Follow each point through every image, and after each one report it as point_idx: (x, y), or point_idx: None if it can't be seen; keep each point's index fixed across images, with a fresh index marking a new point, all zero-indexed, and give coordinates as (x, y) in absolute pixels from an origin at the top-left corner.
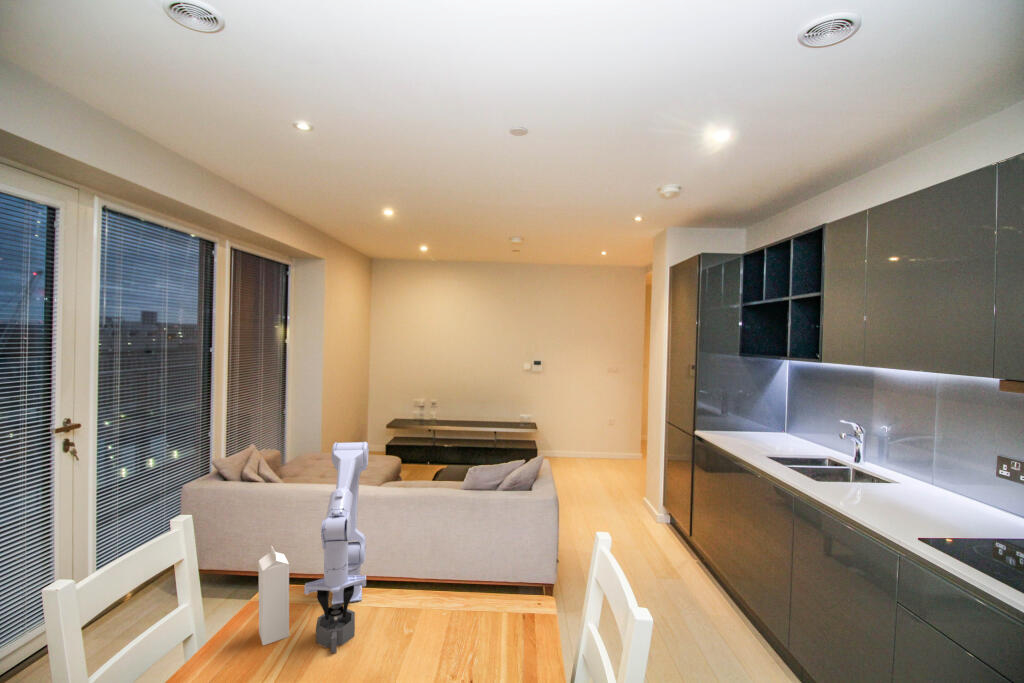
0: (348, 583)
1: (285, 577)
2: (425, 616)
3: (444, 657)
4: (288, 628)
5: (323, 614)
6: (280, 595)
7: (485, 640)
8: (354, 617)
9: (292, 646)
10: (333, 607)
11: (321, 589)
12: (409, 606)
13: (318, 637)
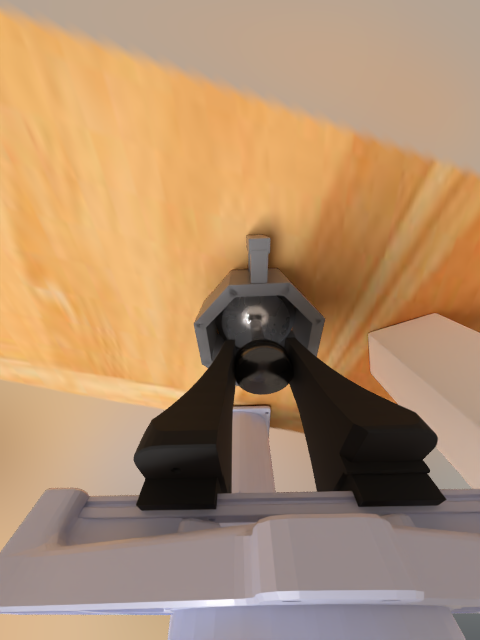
0: (140, 606)
1: None
2: (30, 339)
3: None
4: (385, 345)
5: None
6: None
7: None
8: (197, 341)
9: (365, 295)
10: (274, 377)
11: (477, 549)
12: (93, 377)
13: (305, 297)
